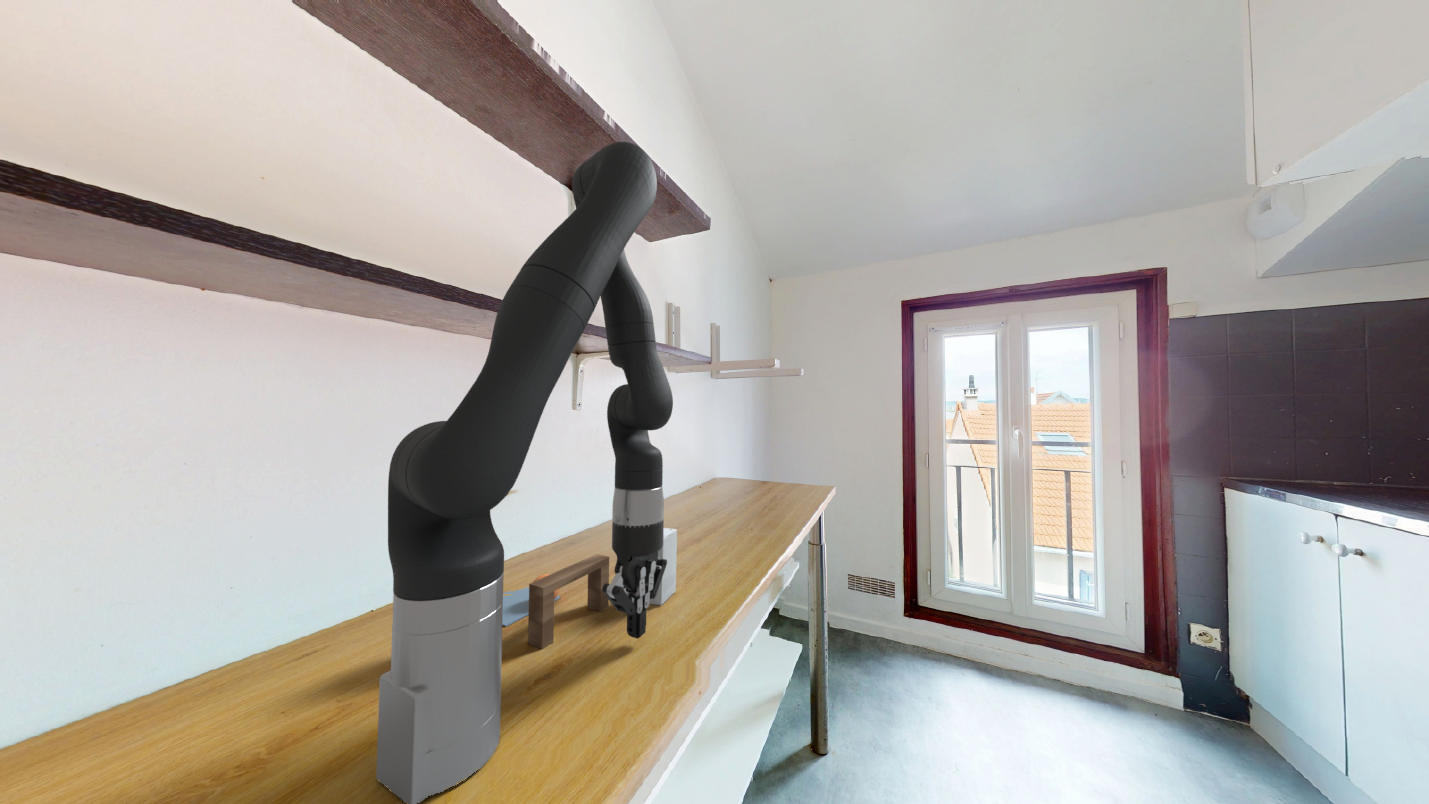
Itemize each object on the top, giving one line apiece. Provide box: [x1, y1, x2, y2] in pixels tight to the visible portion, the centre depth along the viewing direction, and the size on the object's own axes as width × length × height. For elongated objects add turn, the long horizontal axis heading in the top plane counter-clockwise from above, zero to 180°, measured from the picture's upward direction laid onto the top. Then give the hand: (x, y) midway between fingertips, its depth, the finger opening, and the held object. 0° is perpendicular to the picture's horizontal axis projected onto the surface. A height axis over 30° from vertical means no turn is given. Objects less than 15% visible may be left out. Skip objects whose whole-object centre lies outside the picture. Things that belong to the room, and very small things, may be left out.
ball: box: [532, 573, 561, 599], centre depth 70 cm, size 5×5×5 cm
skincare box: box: [649, 527, 678, 606], centre depth 73 cm, size 6×4×12 cm
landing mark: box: [502, 586, 562, 627], centre depth 70 cm, size 11×11×1 cm
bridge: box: [527, 553, 610, 650], centre depth 64 cm, size 3×14×9 cm, turn 154°
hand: (636, 634), depth 58 cm, fingers closed
